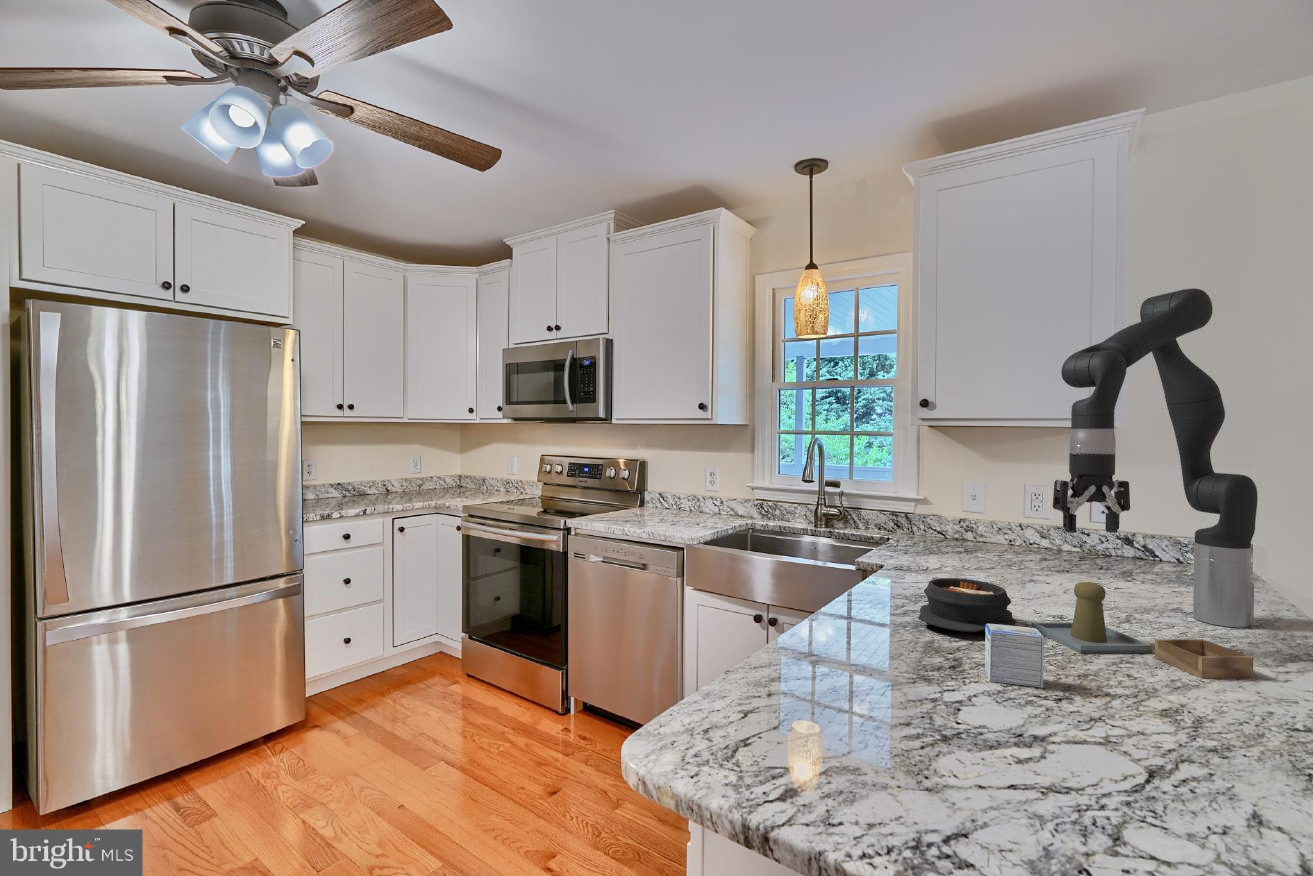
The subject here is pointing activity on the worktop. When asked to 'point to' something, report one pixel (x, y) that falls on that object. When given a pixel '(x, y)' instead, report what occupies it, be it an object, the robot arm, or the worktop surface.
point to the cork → (1089, 613)
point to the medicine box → (1014, 655)
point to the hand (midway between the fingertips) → (1090, 532)
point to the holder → (1204, 658)
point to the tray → (1113, 645)
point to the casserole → (965, 605)
